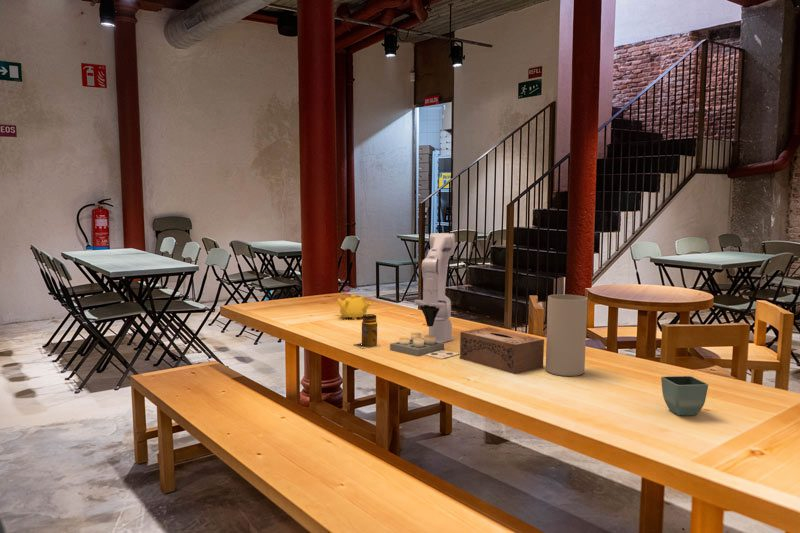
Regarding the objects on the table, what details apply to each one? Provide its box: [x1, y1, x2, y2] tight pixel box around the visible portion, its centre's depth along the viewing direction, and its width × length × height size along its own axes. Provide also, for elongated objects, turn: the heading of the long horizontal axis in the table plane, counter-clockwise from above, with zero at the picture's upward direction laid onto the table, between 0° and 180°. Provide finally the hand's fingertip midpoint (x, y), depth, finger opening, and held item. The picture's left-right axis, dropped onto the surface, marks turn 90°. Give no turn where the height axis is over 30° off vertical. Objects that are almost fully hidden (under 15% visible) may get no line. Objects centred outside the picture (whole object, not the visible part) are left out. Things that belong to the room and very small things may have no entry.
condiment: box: [353, 313, 382, 349], centre depth 245 cm, size 7×8×12 cm
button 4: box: [424, 334, 435, 345], centre depth 239 cm, size 4×4×3 cm
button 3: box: [413, 337, 425, 348], centre depth 235 cm, size 4×4×3 cm
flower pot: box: [660, 375, 709, 416], centre depth 169 cm, size 9×9×9 cm
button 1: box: [398, 337, 411, 345], centre depth 239 cm, size 4×4×3 cm
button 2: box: [410, 332, 422, 342], centre depth 244 cm, size 4×4×3 cm
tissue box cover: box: [459, 326, 545, 375], centre depth 221 cm, size 26×14×10 cm, turn 38°
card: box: [424, 349, 460, 360], centre depth 232 cm, size 10×8×1 cm
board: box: [389, 338, 445, 357], centre depth 240 cm, size 15×14×2 cm
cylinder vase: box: [545, 294, 588, 377], centre depth 209 cm, size 12×12×25 cm
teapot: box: [336, 294, 372, 320], centre depth 304 cm, size 20×18×11 cm
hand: (430, 326), depth 239 cm, fingers closed
